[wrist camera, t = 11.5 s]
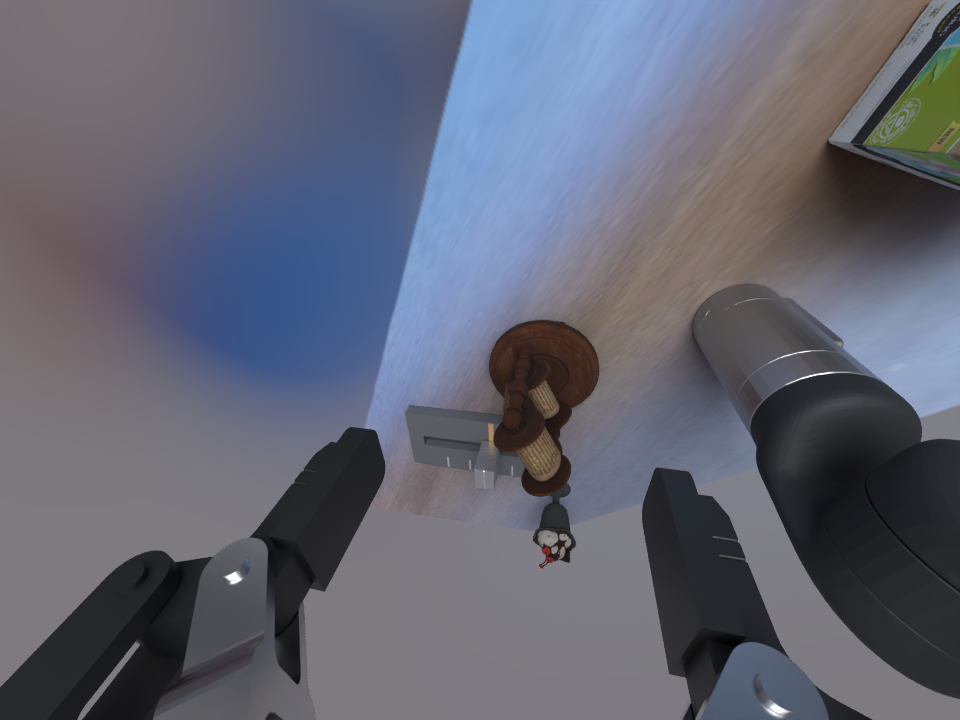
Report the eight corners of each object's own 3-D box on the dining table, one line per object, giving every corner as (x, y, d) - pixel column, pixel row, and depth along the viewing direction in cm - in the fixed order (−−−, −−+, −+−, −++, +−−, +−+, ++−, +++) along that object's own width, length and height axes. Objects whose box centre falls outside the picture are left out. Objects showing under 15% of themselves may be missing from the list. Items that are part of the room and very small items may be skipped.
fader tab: (501, 436, 59) (493, 472, 53) (501, 454, 62) (494, 491, 56) (483, 434, 60) (473, 469, 54) (484, 452, 62) (475, 488, 56)
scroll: (474, 337, 51) (429, 438, 35) (573, 297, 45) (575, 398, 28) (519, 412, 57) (498, 528, 41) (613, 386, 51) (632, 511, 34)
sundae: (535, 474, 64) (527, 557, 52) (574, 476, 62) (575, 563, 50) (539, 498, 67) (532, 581, 55) (576, 500, 66) (577, 587, 53)
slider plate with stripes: (539, 419, 57) (538, 429, 55) (536, 470, 63) (535, 479, 62) (409, 405, 61) (405, 413, 59) (419, 453, 68) (415, 462, 66)
